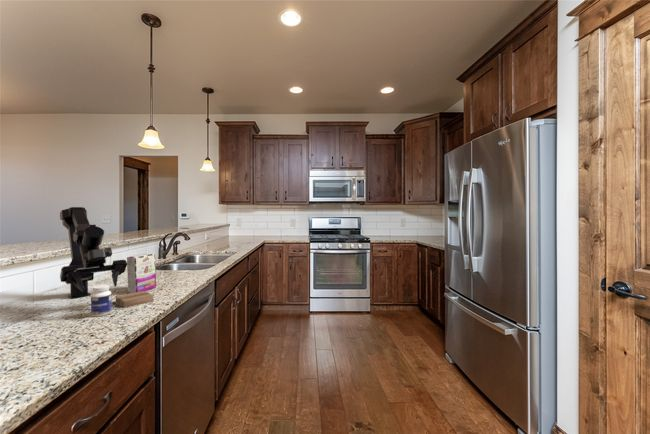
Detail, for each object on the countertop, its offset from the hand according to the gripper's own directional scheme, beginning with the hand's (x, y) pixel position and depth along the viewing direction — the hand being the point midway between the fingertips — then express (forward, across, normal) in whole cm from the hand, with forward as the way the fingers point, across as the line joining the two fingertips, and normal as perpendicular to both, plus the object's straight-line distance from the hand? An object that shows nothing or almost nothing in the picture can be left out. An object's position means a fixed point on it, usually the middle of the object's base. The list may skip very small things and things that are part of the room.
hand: (100, 288), depth 100 cm
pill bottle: (+7, 0, +6) cm, 9 cm away
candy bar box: (-8, +20, +21) cm, 30 cm away
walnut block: (+3, +12, +10) cm, 16 cm away
